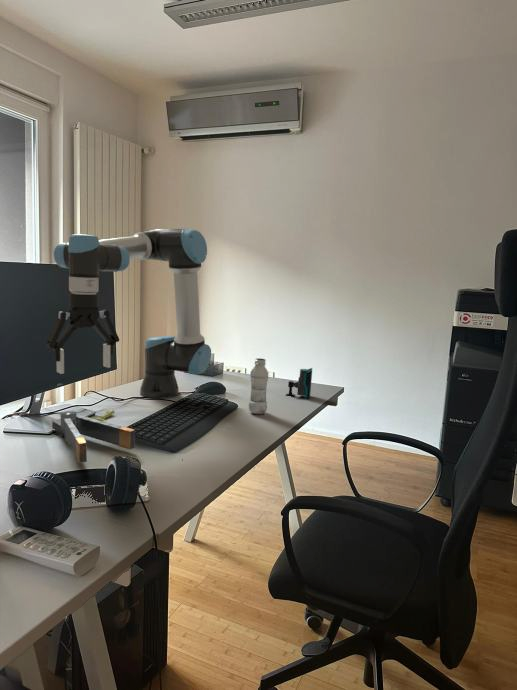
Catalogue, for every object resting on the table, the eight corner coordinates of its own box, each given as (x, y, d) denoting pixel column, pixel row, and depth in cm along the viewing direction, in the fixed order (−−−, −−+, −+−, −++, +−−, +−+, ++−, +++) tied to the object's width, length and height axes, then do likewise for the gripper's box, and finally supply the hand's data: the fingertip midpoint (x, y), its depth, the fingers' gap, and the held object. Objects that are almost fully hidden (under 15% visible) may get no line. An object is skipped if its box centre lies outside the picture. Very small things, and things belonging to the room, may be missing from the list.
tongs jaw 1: (63, 435, 138) (63, 418, 137) (70, 434, 139) (70, 417, 138) (79, 463, 120) (79, 443, 119) (86, 461, 121) (86, 442, 120)
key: (115, 415, 163) (115, 409, 163) (103, 428, 151) (103, 421, 150) (94, 414, 163) (94, 408, 163) (80, 426, 151) (80, 420, 150)
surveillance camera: (288, 365, 199) (312, 367, 198) (286, 393, 201) (310, 395, 200) (287, 368, 193) (311, 370, 192) (285, 397, 195) (309, 399, 194)
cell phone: (149, 503, 106) (149, 499, 106) (62, 511, 101) (62, 507, 101) (146, 485, 114) (146, 481, 114) (66, 491, 109) (66, 487, 109)
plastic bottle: (264, 417, 169) (268, 362, 165) (246, 414, 170) (249, 360, 166) (268, 411, 175) (271, 358, 171) (250, 409, 176) (253, 356, 173)
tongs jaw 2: (76, 433, 140) (75, 416, 139) (81, 431, 141) (80, 415, 141) (130, 449, 130) (130, 431, 129) (134, 447, 132) (134, 429, 131)
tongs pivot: (50, 430, 145) (49, 408, 144) (64, 427, 148) (64, 405, 147) (65, 439, 138) (64, 416, 137) (79, 436, 142) (79, 413, 140)
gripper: (43, 294, 117) (45, 378, 120) (132, 293, 135) (131, 366, 138) (30, 292, 122) (32, 372, 125) (117, 291, 140) (117, 362, 143)
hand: (84, 369), depth 132 cm, fingers open, 13 cm apart
